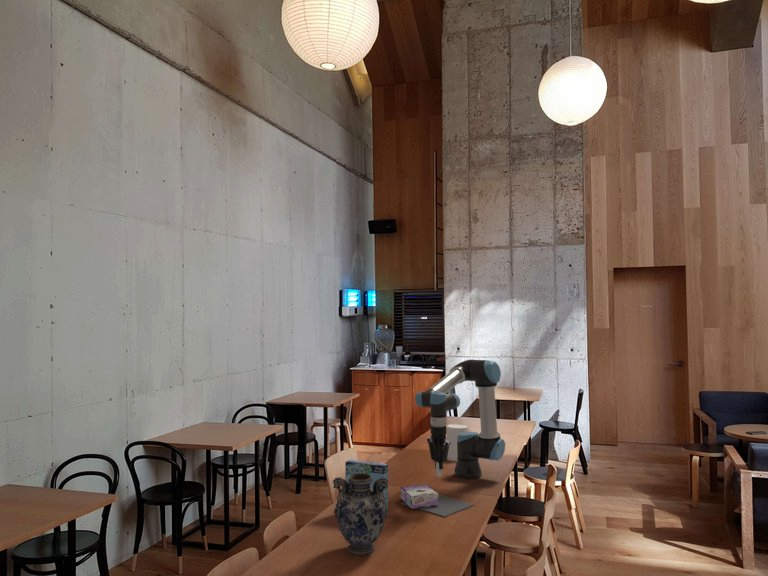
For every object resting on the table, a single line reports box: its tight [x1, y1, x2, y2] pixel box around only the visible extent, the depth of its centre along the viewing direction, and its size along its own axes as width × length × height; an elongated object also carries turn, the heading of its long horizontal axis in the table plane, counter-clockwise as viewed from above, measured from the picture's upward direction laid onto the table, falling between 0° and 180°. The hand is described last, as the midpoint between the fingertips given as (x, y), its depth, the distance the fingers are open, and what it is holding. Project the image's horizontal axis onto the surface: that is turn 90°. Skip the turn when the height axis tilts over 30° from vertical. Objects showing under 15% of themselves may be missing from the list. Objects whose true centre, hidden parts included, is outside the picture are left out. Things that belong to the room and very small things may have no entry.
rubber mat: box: [401, 494, 475, 518], centre depth 279 cm, size 22×26×1 cm
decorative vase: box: [332, 474, 389, 556], centre depth 227 cm, size 21×19×28 cm
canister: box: [446, 423, 470, 462], centre depth 366 cm, size 14×14×20 cm
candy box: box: [400, 484, 440, 510], centre depth 281 cm, size 14×6×16 cm
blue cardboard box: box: [344, 459, 389, 518], centre depth 267 cm, size 20×5×23 cm, turn 66°
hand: (439, 475), depth 280 cm, fingers closed
